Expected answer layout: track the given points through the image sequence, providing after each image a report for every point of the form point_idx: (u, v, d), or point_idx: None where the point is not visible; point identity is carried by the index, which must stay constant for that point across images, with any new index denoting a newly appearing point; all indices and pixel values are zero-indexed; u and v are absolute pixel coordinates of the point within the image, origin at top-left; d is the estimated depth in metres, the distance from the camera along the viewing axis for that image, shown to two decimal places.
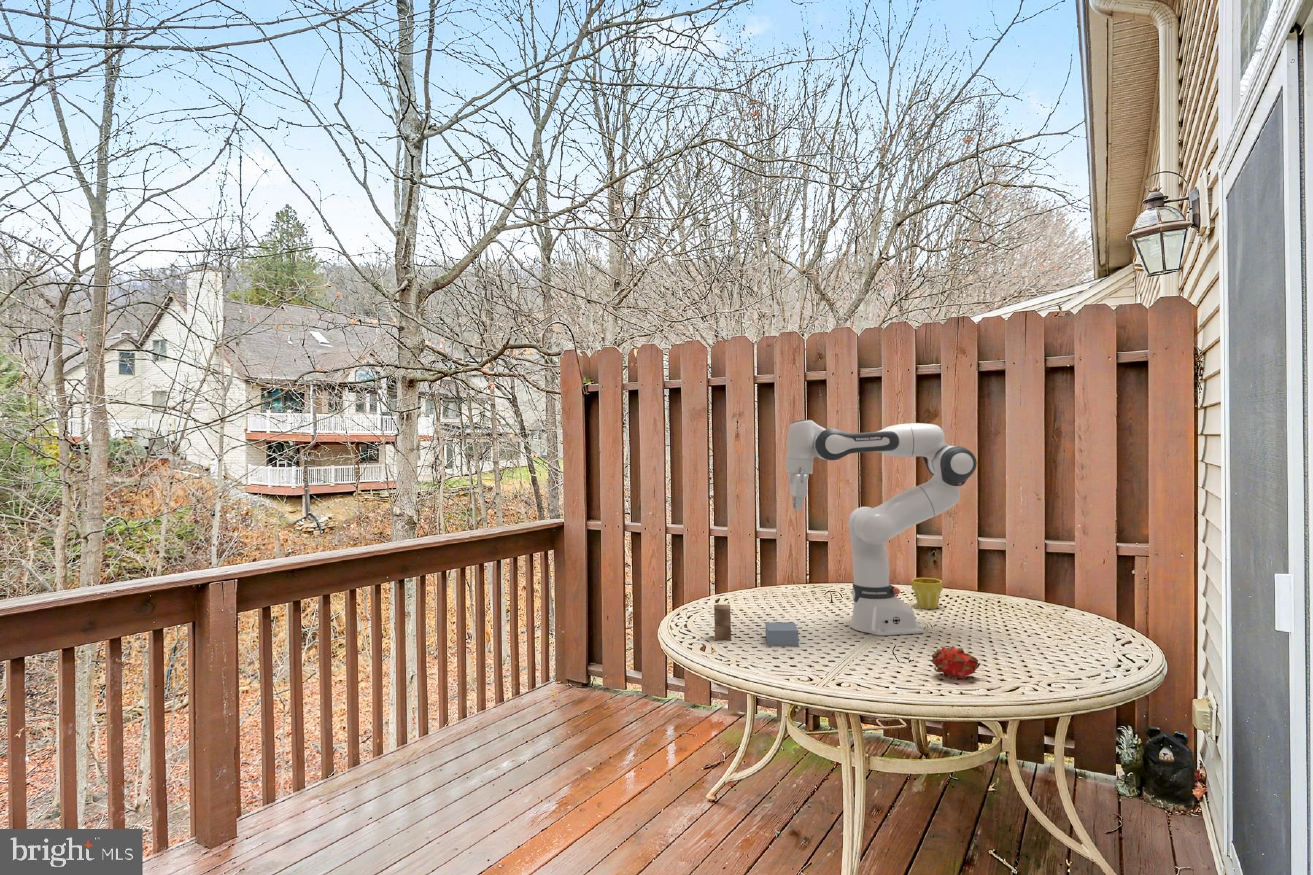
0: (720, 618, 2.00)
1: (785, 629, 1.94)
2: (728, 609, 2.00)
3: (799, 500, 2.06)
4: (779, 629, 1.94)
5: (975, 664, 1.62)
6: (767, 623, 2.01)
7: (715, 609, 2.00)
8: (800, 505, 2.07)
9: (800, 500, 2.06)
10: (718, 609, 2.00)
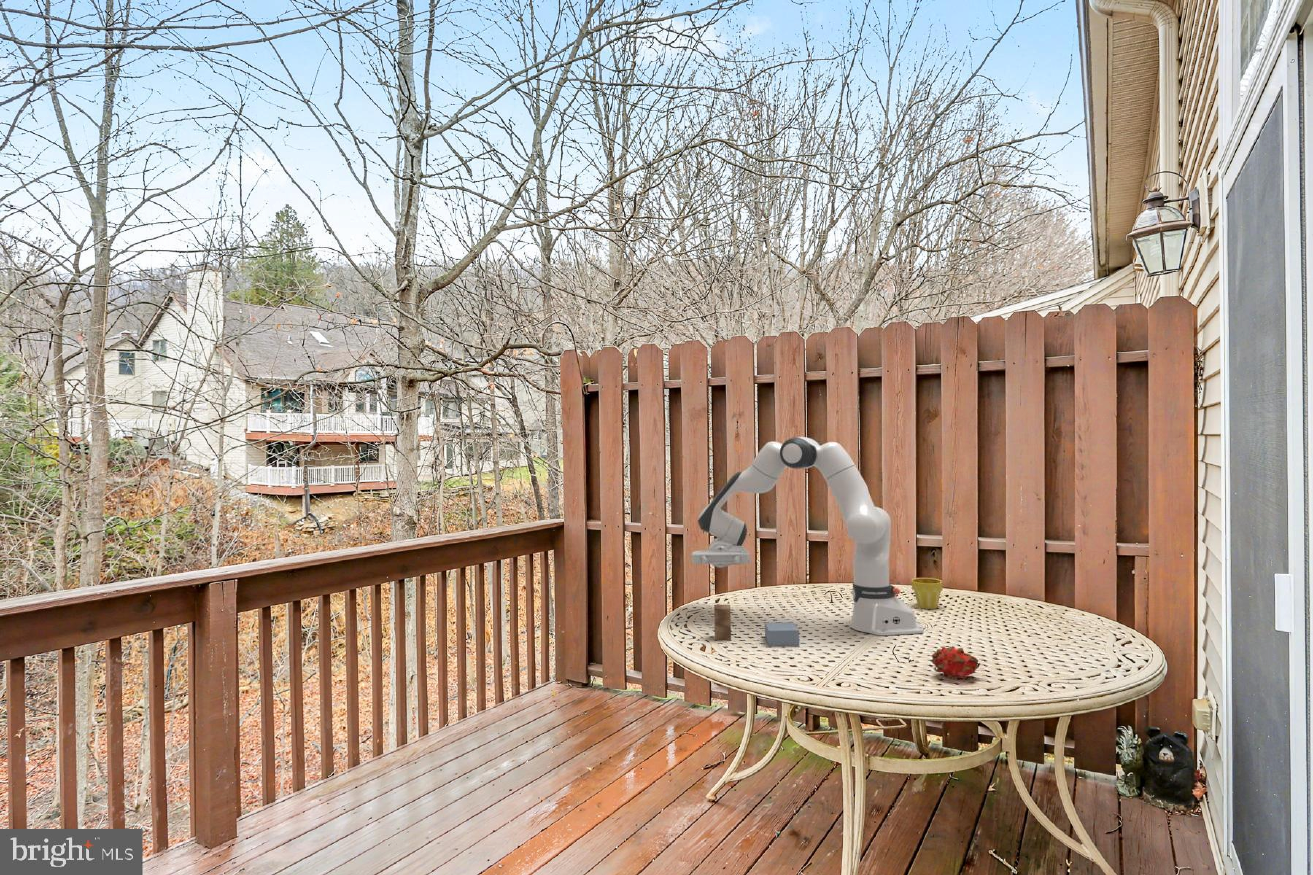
0: (720, 618, 2.00)
1: (786, 629, 1.94)
2: (728, 609, 2.00)
3: (701, 560, 2.19)
4: (780, 629, 1.94)
5: (975, 664, 1.62)
6: (767, 623, 2.00)
7: (715, 609, 2.00)
8: (704, 559, 2.17)
9: (701, 559, 2.19)
10: (718, 609, 2.00)
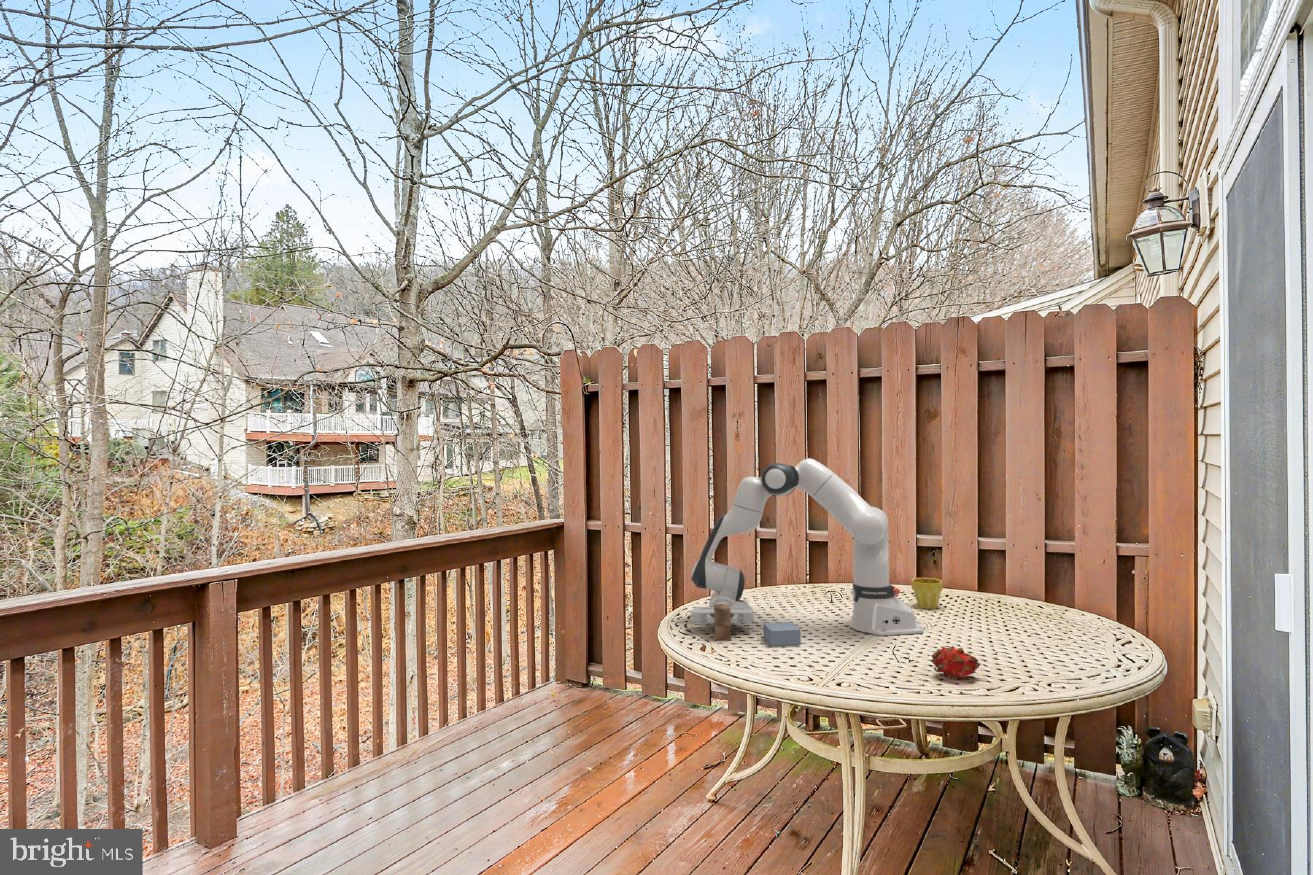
0: (720, 618, 2.00)
1: (787, 629, 1.94)
2: (728, 609, 2.00)
3: (706, 618, 2.05)
4: (781, 629, 1.94)
5: (975, 664, 1.62)
6: (766, 624, 2.00)
7: (715, 609, 2.00)
8: (709, 618, 2.04)
9: (706, 617, 2.05)
10: (718, 609, 2.00)
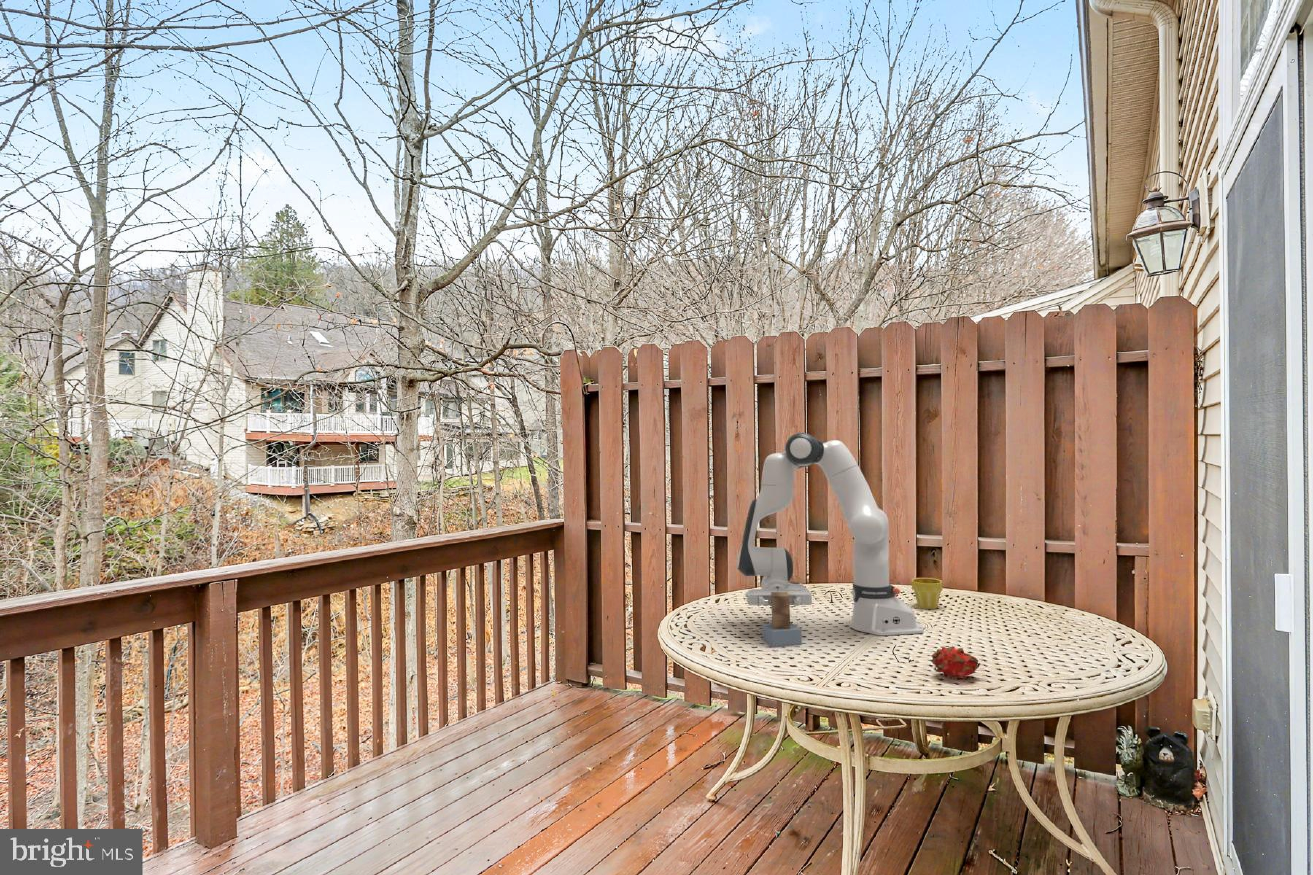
0: (779, 606, 1.95)
1: (788, 629, 1.94)
2: (787, 596, 1.94)
3: (759, 601, 2.00)
4: (782, 629, 1.93)
5: (975, 664, 1.62)
6: (765, 624, 1.99)
7: (774, 596, 1.95)
8: (762, 600, 1.99)
9: (759, 600, 2.00)
10: (777, 596, 1.95)
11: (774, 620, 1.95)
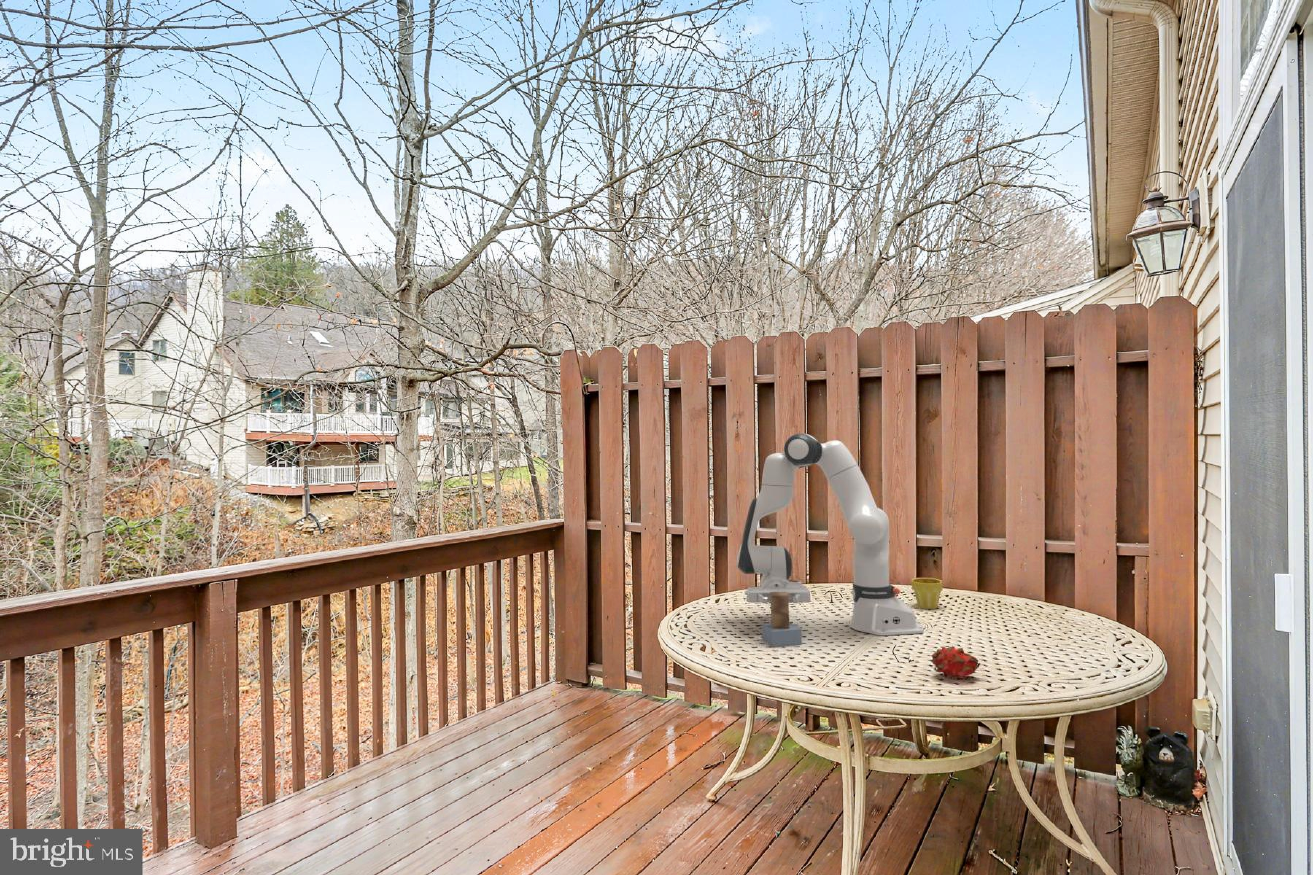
0: (778, 606, 1.95)
1: (788, 628, 1.94)
2: (786, 596, 1.95)
3: (758, 598, 2.03)
4: (783, 629, 1.94)
5: (975, 664, 1.62)
6: (765, 624, 1.99)
7: (772, 596, 1.95)
8: (761, 598, 2.02)
9: (758, 597, 2.03)
10: (776, 596, 1.95)
11: (773, 620, 1.95)
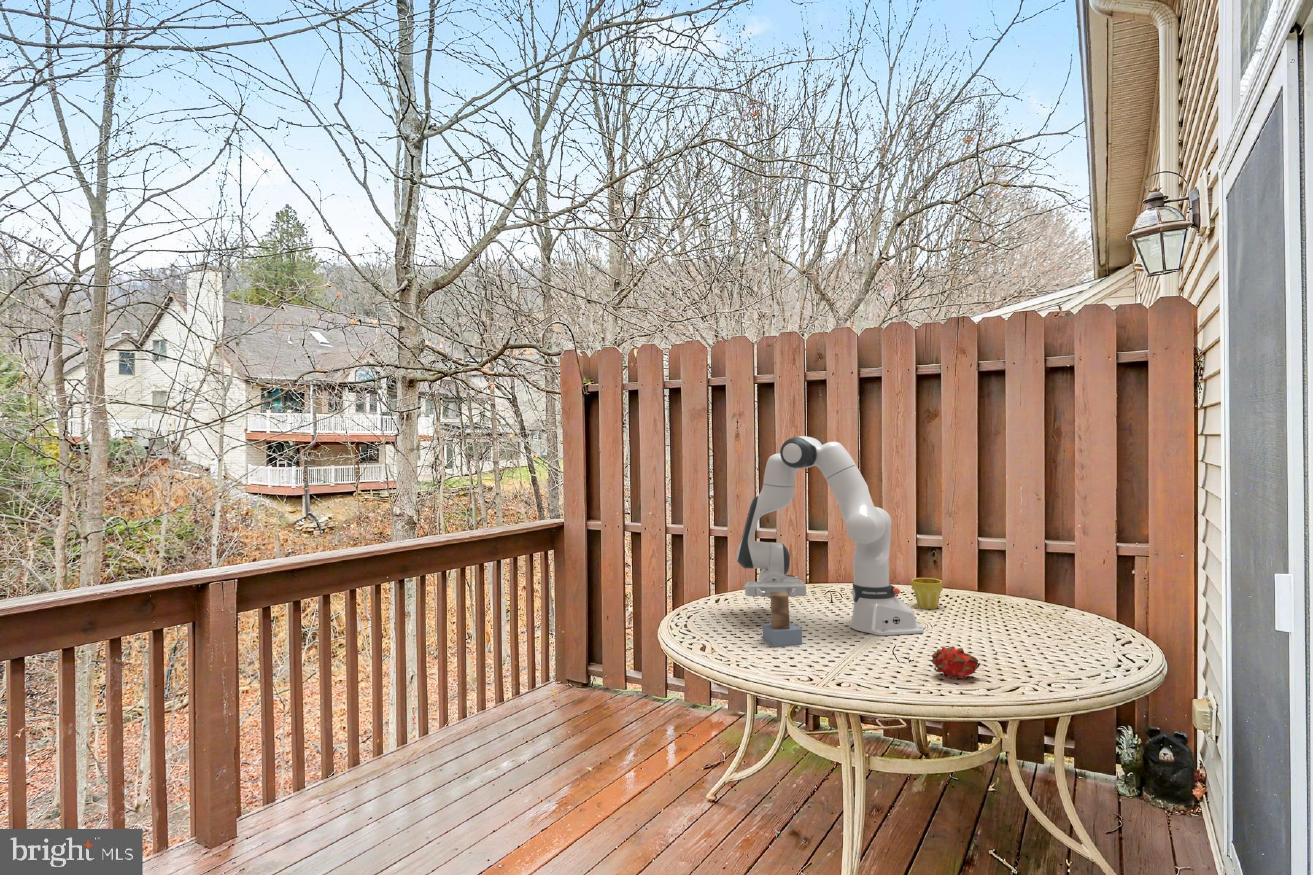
0: (778, 606, 1.95)
1: (789, 629, 1.94)
2: (786, 596, 1.94)
3: (756, 592, 2.12)
4: (783, 629, 1.94)
5: (975, 664, 1.62)
6: (765, 624, 1.99)
7: (772, 597, 1.95)
8: (759, 591, 2.11)
9: (756, 591, 2.12)
10: (776, 596, 1.95)
11: (773, 620, 1.95)
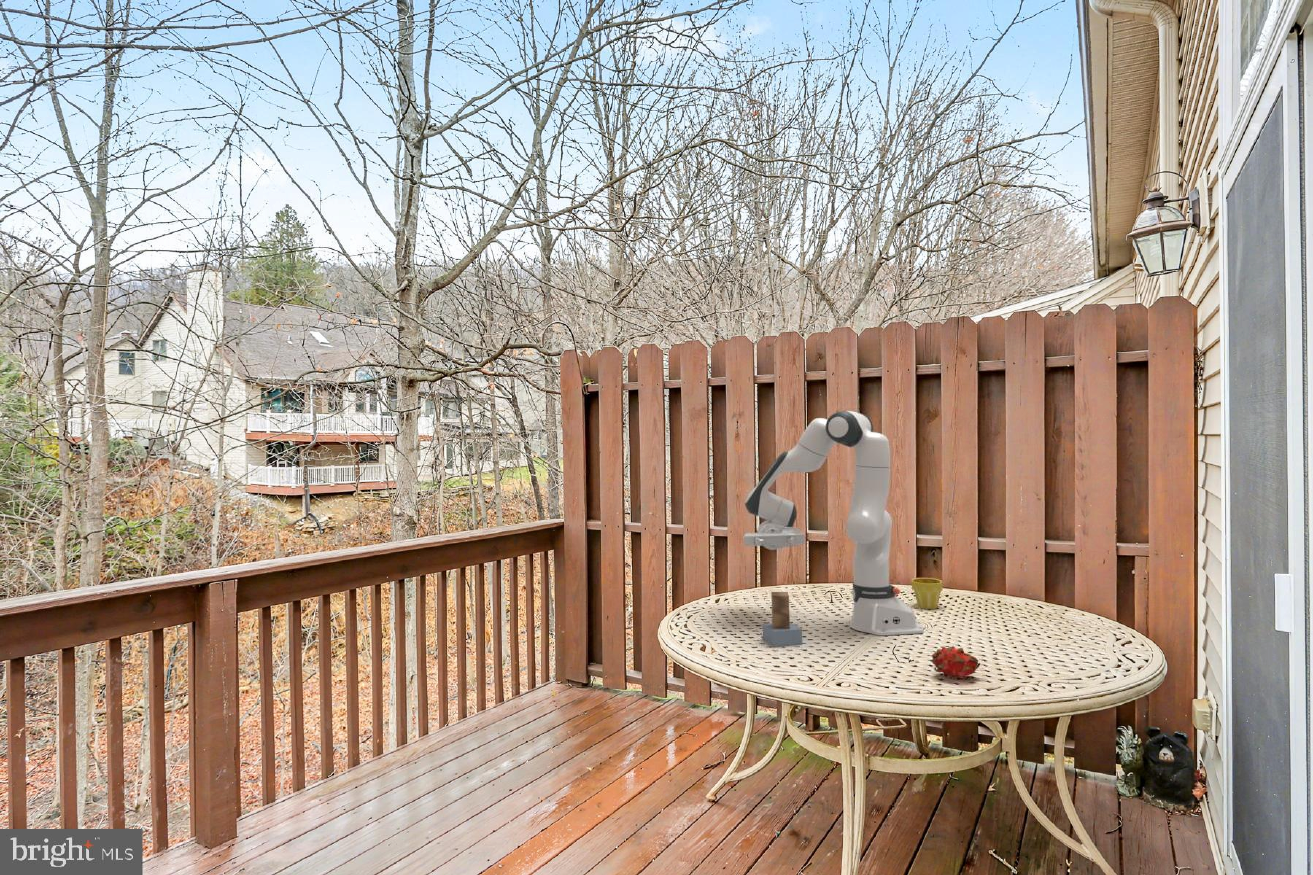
0: (778, 606, 1.95)
1: None
2: (786, 596, 1.94)
3: (755, 541, 2.13)
4: (783, 629, 1.94)
5: (975, 664, 1.62)
6: (765, 624, 1.99)
7: (773, 596, 1.95)
8: (758, 540, 2.11)
9: (755, 540, 2.13)
10: (776, 596, 1.95)
11: (773, 620, 1.95)
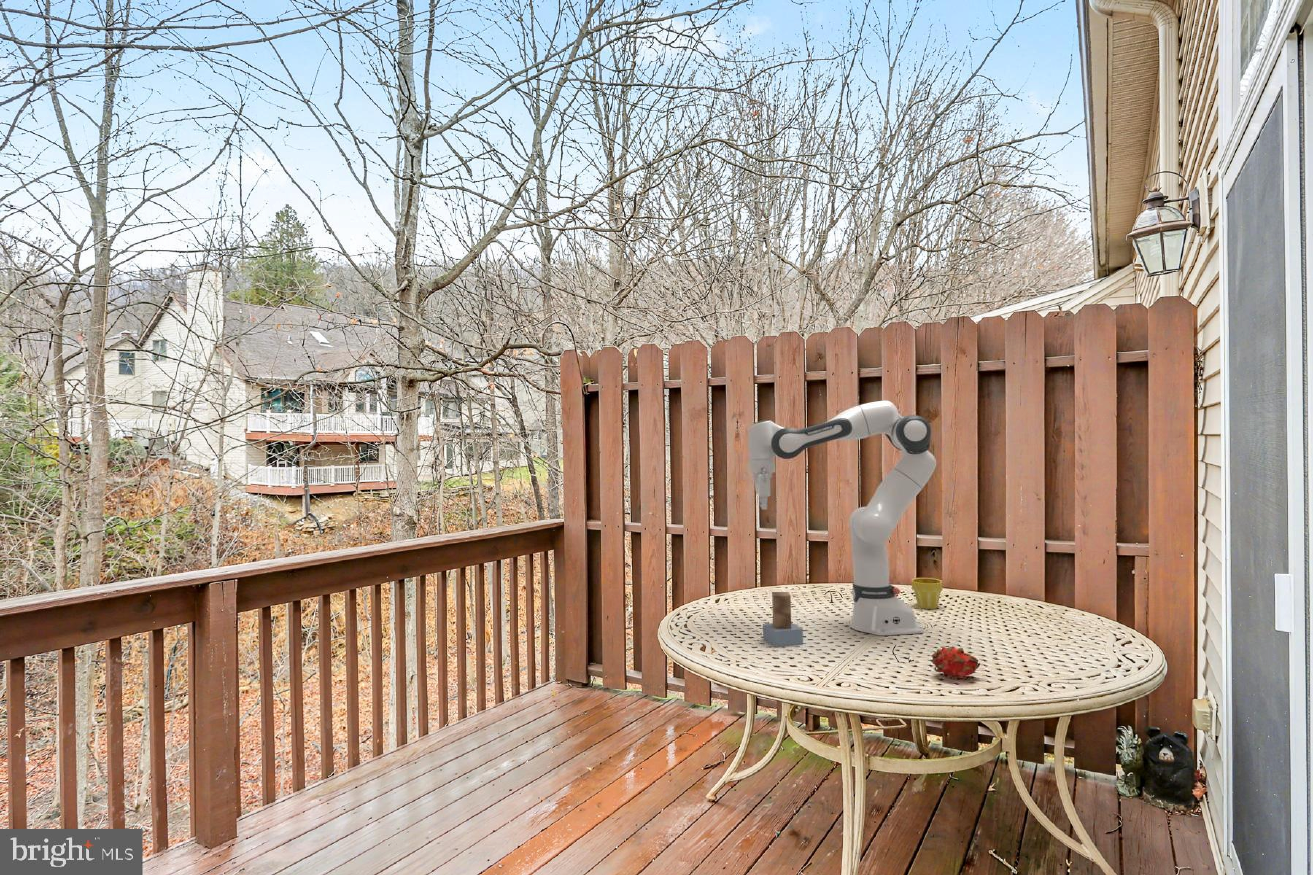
0: (780, 606, 1.95)
1: (790, 629, 1.94)
2: (788, 596, 1.95)
3: (764, 499, 2.13)
4: (784, 629, 1.94)
5: (975, 664, 1.62)
6: (766, 625, 1.99)
7: (775, 596, 1.95)
8: (765, 504, 2.14)
9: (764, 499, 2.13)
10: (778, 596, 1.95)
11: (775, 620, 1.95)
